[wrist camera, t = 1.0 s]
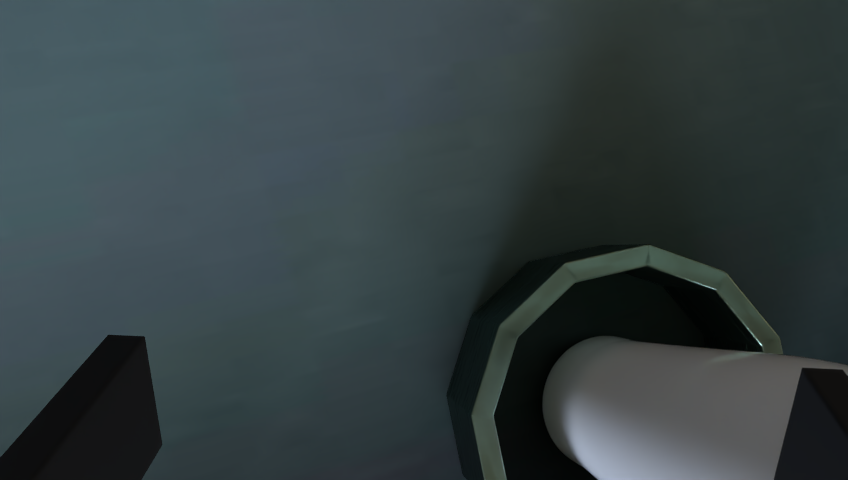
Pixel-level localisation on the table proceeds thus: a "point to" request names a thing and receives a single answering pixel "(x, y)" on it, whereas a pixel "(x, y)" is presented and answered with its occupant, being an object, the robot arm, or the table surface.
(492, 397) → the dark faceted bowl
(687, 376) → the drinking glass
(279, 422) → the table surface
